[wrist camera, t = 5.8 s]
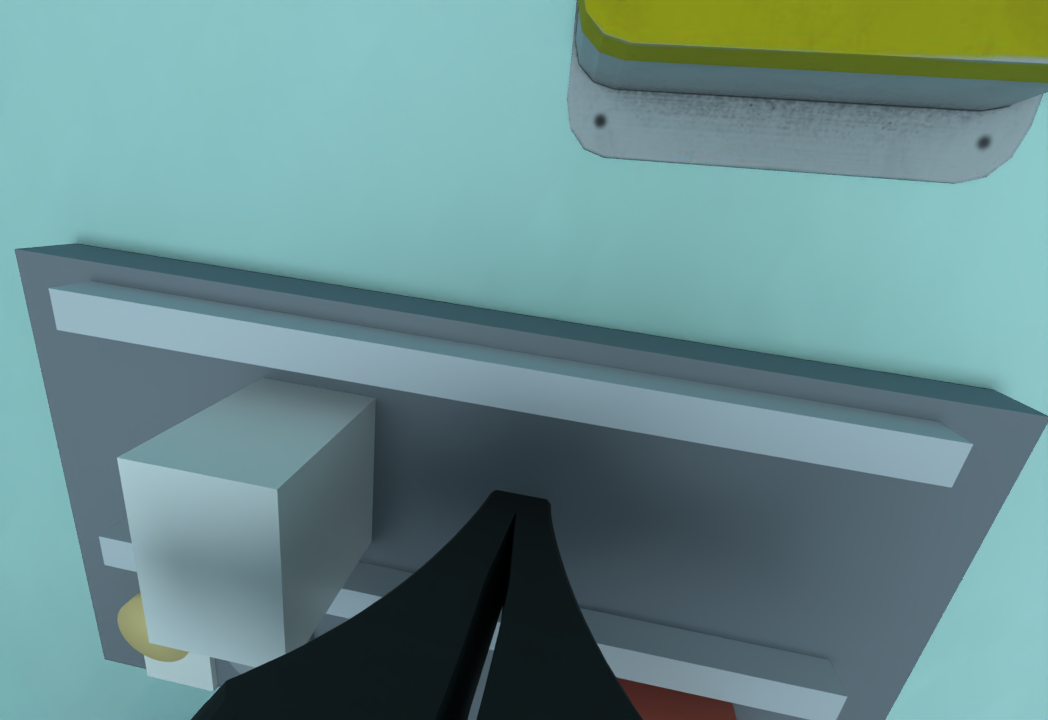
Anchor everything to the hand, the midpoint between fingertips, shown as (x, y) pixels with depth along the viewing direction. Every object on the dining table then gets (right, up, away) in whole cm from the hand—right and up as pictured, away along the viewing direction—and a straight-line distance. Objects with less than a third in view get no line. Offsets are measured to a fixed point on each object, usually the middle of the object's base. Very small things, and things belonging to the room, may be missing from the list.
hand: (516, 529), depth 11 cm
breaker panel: (-1, -1, +3) cm, 4 cm away
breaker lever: (-5, +1, +1) cm, 6 cm away
